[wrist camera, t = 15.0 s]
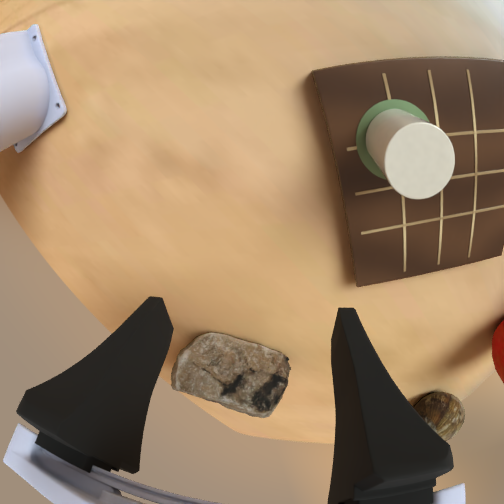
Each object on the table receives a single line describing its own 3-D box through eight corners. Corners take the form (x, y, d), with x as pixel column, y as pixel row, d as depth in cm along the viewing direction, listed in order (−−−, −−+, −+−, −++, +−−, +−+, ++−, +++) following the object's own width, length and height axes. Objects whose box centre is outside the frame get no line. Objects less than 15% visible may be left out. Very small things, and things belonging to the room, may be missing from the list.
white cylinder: (359, 113, 14) (377, 127, 11) (421, 105, 13) (452, 119, 10) (371, 176, 16) (388, 205, 13) (428, 166, 15) (455, 193, 12)
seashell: (418, 388, 33) (426, 437, 27) (469, 377, 31) (480, 422, 25) (398, 417, 39) (401, 457, 33) (443, 408, 38) (450, 446, 31)
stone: (183, 321, 29) (162, 381, 23) (299, 345, 29) (296, 408, 23) (183, 354, 33) (168, 405, 28) (281, 375, 33) (276, 427, 28)
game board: (311, 70, 14) (312, 70, 13) (497, 59, 10) (507, 61, 9) (354, 277, 23) (357, 288, 22) (495, 247, 19) (502, 256, 18)
